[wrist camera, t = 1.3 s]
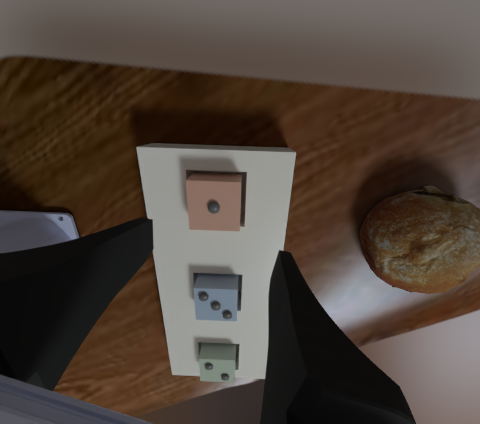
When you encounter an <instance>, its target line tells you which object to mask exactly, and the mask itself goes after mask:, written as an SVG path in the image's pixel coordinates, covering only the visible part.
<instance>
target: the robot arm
mask: <svg viewBox="0 0 480 424" xmlns="http://www.w3.org/2000/svg"><path fill="white" fill-rule="evenodd" d="M61 217H62V218H63V219H62V218H61ZM153 249H154V246H153V220H152V219H148V218H144V217H141V218H138V219H135V220H132V221H129V222H126V223H123V224H120V225H117V226H114V227H112V228H109V229H106V230H103V231H100V232H97V233H93V234H90V235H87V236H84V237H81V238H79V235H78V232H77V229H76V225H75V222H74V219H73V216H72V215H71V214H69V213H57V212H30V211H3V210H0V424H153V423H150V422H147V421H144V420H141V419H137V418H134V417H131V416H128V415H125V414H122V413H119V412H116V411H112V410H109V409H106V408H103V407H100V406H97V405H94V404H91V403H87V402H84V401H81V400H78V399H75V398H72V397H69V396H66V395H62V394H59V393H56V392H53V390H54V388H55V386H56V385H57V383H58V381H59V380H60V378H61V376H62V374H63V373H64V371H65V369H66V368H67V366H68V364H69V363H70V361H71V360H72V358H73V356H74V355H75V353H76V352H77V350H78V349H79V347H80V345H81V344H82V342H83V341H84V339H85V338H86V336H87V335H88V333H89V332H90V330H91V329H92V327H93V326H94V324H95V323H96V322H97V320H98V319H99V317H100V316H101V315H102V313H103V312H104V310H105V309H106V308H107V306H108V305H109V303H110V302H111V301H112V300H113V298H114V297H115V296H116V295H117V294H118V292H119V291H120V290H121V289H122V288H123V287H124V286H125V285H126V283H127V282H128V281H129V280H130V279H131V278H132V277H133V276H134V274H135V273H136V272H137V271H138V270H139V269H140V267H141V266H142V265H143V264H144V263H145V261H146V260H147V258H148V257H149V255H150V254H151V252H152V250H153ZM260 424H416V422H415V420H414V418H413V415H412V413H411V410H410V408H409V405H408V403H407V401H406V399H405V397H404V395H403V393H402V391H401V389H400V386H398V385H397V384H396V383H395V382H394V381H393V380H392V379H391V378H389V377H388V376H387V375H386V374H385V373H384V372H383V371H382V370H381V369H379V368H378V367H377V366H376V365H375V364H374V363H373V362H372V361H370V359H369V358H367V357H366V356H365V355H364V354H363V353H362V352H361V351H360V350H359V349H358V348H357V347H356V346H355V345H354V343H353V342H352V341H351V340H350V339H349V338H348V337H347V336H346V335H345V334H344V333H343V332H342V330H341V329H340V328H339V327H338V326H337V325H336V324H335V322H334V321H333V320H332V319H331V318H330V316H329V315H328V314H327V313H326V311H325V310H324V309H323V307H322V306H321V305H320V303H319V302H318V300H317V299H316V297H315V296H314V294H313V293H312V291H311V290H310V288H309V286H308V285H307V283H306V281H305V279H304V278H303V276H302V274H301V272H300V270H299V268H298V266H297V264H296V262H295V260H294V258H293V256H292V254H291V253H290V252H286V251H282V250H279V252H278V255H277V259H276V262H275V265H274V268H273V271H272V275H271V278H270V286H269V295H268V353H267V365H266V375H265V385H264V395H263V404H262V413H261V422H260Z"/></svg>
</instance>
